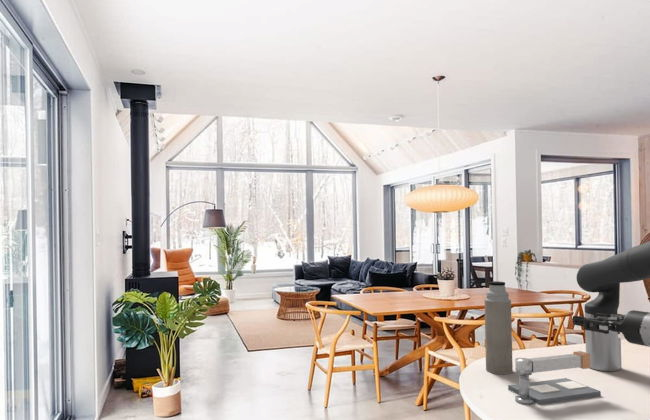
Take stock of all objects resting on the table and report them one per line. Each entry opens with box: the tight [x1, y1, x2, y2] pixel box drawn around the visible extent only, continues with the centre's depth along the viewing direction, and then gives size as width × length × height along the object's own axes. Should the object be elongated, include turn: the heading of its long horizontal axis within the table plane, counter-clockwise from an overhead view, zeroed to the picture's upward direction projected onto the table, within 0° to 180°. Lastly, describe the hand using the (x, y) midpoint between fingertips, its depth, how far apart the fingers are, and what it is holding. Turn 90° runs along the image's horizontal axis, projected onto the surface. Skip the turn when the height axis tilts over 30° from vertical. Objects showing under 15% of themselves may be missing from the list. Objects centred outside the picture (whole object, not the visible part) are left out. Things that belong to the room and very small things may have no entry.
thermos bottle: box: [484, 280, 514, 375], centre depth 153 cm, size 8×8×28 cm
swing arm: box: [514, 350, 591, 376], centre depth 129 cm, size 22×4×4 cm, turn 107°
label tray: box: [507, 377, 602, 405], centre depth 132 cm, size 20×12×2 cm, turn 107°
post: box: [514, 374, 535, 405], centre depth 126 cm, size 4×4×7 cm
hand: (584, 318), depth 121 cm, fingers open, 7 cm apart
